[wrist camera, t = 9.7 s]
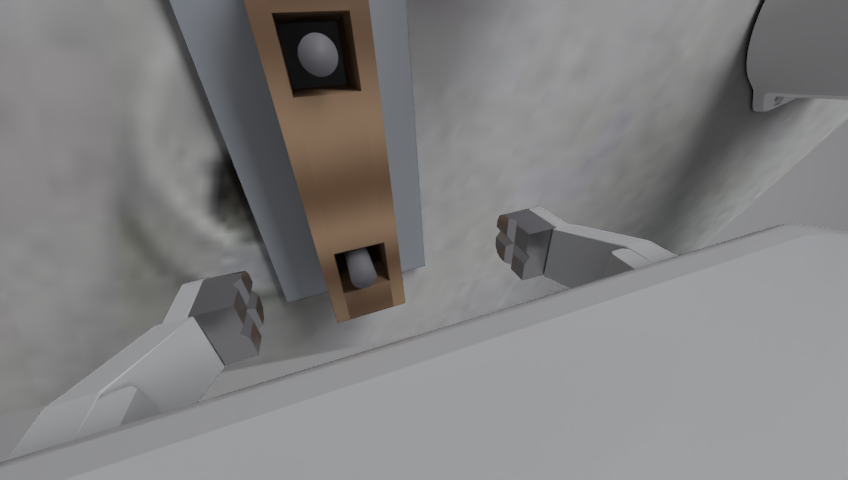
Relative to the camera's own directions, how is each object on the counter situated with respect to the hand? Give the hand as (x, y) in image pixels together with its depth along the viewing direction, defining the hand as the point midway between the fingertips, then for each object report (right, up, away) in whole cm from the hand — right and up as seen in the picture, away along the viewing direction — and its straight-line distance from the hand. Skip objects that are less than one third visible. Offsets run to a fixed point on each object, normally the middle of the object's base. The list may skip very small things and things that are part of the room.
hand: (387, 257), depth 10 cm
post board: (-5, +7, +12) cm, 15 cm away
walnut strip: (-5, +6, +11) cm, 14 cm away
